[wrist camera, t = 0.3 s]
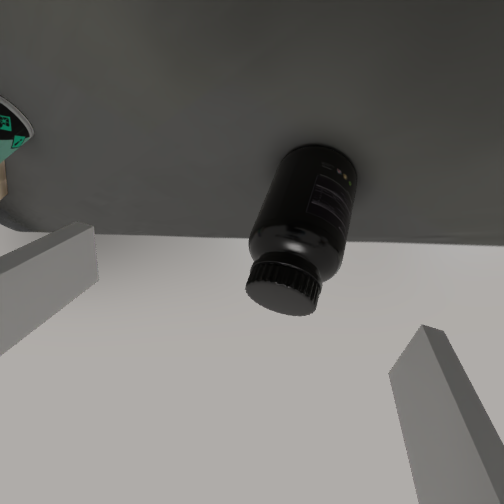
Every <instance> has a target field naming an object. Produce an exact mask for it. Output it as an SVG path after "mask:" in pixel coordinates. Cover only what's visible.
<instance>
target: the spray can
mask: <svg viewBox="0 0 504 504" xmlns="http://www.w3.org/2000/svg"><path fill="white" fill-rule="evenodd" d="M33 135H34V130H33V128H32V126H31V124H30V122H29V121H28V120H27V118H26V117H25V116H24V115H23V114H22V113H21V112H20V111H19V110H18V109H17V108H16V107H15V106H14V105H13V104H11V103H10V102H9V101H7V100H6V99H4V98H3V97H1V96H0V163H1V162H3V161H4V160H5V159H6V158H7V157H9V156H10V155H11V154H12V153H13V152H15V151H16V150H17V149H18V148H19V147H20V146H22V145H23V144H24V143H25V142H26V141H28V140H29V139H30V138H31V137H32V136H33Z"/></svg>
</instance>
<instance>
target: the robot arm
mask: <svg viewBox="0 0 504 504" xmlns="http://www.w3.org/2000/svg"><path fill="white" fill-rule="evenodd" d="M98 280H99V275H98V265H97V255H96V244H95V234H94V226H91V225H88V224H85V223H81V222H78V221H76V222H74V223H72V224H70V225H68V226H66V227H64V228H61V229H59V230H57V231H55V232H53V233H51V234H48V235H46V236H44V237H42V238H40V239H38V240H35V241H33V242H31V243H29V244H27V245H25V246H23V247H21V248H18V249H17V250H14V251H12V252H10V253H7V254H5V255H3V256H1V257H0V356H1V355H2V354H4V353H5V352H6V351H7V350H9V349H10V348H11V347H13V346H14V345H15V344H17V343H18V342H19V341H20V340H22V339H23V338H24V337H26V336H27V335H28V334H30V333H31V332H32V331H33V330H35V329H36V328H37V327H39V326H40V325H41V324H43V323H44V322H45V321H46V320H48V319H49V318H50V317H52V316H53V315H54V314H56V313H57V312H58V311H60V310H61V309H62V308H63V307H65V306H66V305H67V304H69V303H70V302H71V301H73V300H74V299H75V298H76V297H78V296H79V295H80V294H82V293H83V292H84V291H85V290H87V289H88V288H89V287H91V286H92V285H93V284H95V283H96V282H97V281H98ZM389 378H390V382H391V386H392V390H393V394H394V399H395V403H396V408H397V412H398V416H399V420H400V425H401V429H402V433H403V437H404V441H405V446H406V450H407V454H408V459H409V463H410V467H411V472H412V476H413V480H414V484H415V489H416V493H417V497H418V501H419V504H504V445H503V443H502V441H501V439H500V438H499V436H498V434H497V432H496V430H495V428H494V426H493V424H492V422H491V420H490V418H489V416H488V414H487V413H486V411H485V409H484V407H483V405H482V403H481V401H480V399H479V397H478V395H477V394H476V392H475V390H474V388H473V386H472V384H471V382H470V380H469V378H468V377H467V374H466V373H465V371H464V369H463V367H462V365H461V363H460V361H459V359H458V357H457V355H456V353H455V352H454V350H453V348H452V346H451V344H450V342H449V340H448V338H447V336H446V334H445V333H444V331H442V330H438V329H435V328H432V327H429V326H425V325H421V326H420V328H419V329H418V331H417V332H416V334H415V335H414V337H413V338H412V339H411V341H410V342H409V344H408V345H407V347H406V348H405V350H404V351H403V353H402V354H401V356H400V357H399V359H398V360H397V362H396V363H395V365H394V366H393V367H392V369H391V370H390V372H389Z"/></svg>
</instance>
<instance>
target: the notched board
mask: <svg viewBox="0 0 504 504" xmlns="http://www.w3.org/2000/svg"><path fill="white" fill-rule="evenodd" d="M7 194H8V192H7V181H6V171H5V160H4V161H3V162H1V163H0V200H1V199H2V198H3V197H4V196H6V195H7Z"/></svg>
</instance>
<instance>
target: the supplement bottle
mask: <svg viewBox="0 0 504 504" xmlns="http://www.w3.org/2000/svg"><path fill="white" fill-rule="evenodd" d="M356 186H357V178H356V173H355V170H354V168H353V166H352V165H351V163H350V162H349V161H348V160H347V159H346V158H345V157H344V156H343V155H341V154H340V153H338V152H336V151H334V150H331V149H329V148H325V147H318V146H310V147H304V148H300V149H297V150H295V151H293V152H291V153H290V154H288V155H287V156H286V157H285V158H284V159H283V160H282V162H281V163H280V165H279V167H278V169H277V172H276V174H275V176H274V178H273V181H272V183H271V186H270V188H269V191H268V193H267V195H266V198H265V200H264V203H263V205H262V207H261V210H260V212H259V215H258V217H257V219H256V222H255V224H254V227H253V229H252V231H251V234H250V237H249V251H250V254H251V257H252V258H253V260H254V263H253V265H252V267H251V270H250V276H249V278H248V281H247V283H246V288H245V289H246V293H247V294H248V296H249V297H250V298H251V299H252V300H254V301H255V302H256V303H258V304H259V305H262V306H263V307H265V308H267V309H269V310H272V311H275V312H278V313H281V314H286V315H292V316H306V315H310V314H311V313H313V312H314V311H315V310H316V306H317V302H318V298H319V294H320V293H321V289H322V283H323V282H325V281H327V280H329V279H330V278H332V277H333V276H334V275H335V274H336V273H337V272H338V270H339V269H340V266H341V264H342V259H343V255H344V250H345V245H346V240H347V235H348V229H349V224H350V219H351V214H352V208H353V203H354V198H355V192H356Z"/></svg>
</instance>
